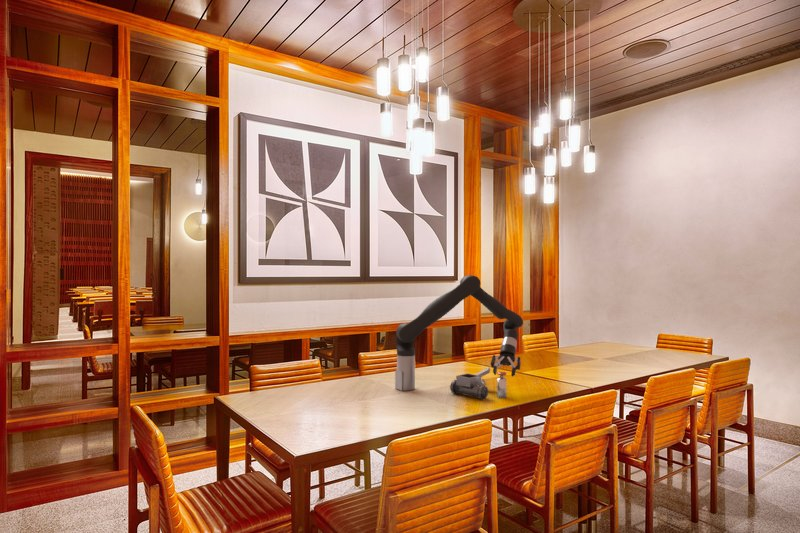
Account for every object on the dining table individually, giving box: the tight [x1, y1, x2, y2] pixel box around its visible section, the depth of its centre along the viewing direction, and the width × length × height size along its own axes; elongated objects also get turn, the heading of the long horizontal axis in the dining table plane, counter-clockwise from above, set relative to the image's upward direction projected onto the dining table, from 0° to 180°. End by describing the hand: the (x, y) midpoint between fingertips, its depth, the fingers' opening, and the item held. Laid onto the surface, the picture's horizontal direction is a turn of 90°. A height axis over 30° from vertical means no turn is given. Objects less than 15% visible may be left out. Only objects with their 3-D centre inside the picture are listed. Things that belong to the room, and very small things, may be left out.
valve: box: [496, 371, 507, 399], centre depth 236 cm, size 4×4×12 cm
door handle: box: [474, 366, 491, 386], centre depth 257 cm, size 18×8×20 cm
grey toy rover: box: [449, 373, 489, 401], centre depth 237 cm, size 18×8×10 cm, turn 43°
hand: (503, 374), depth 240 cm, fingers open, 8 cm apart
